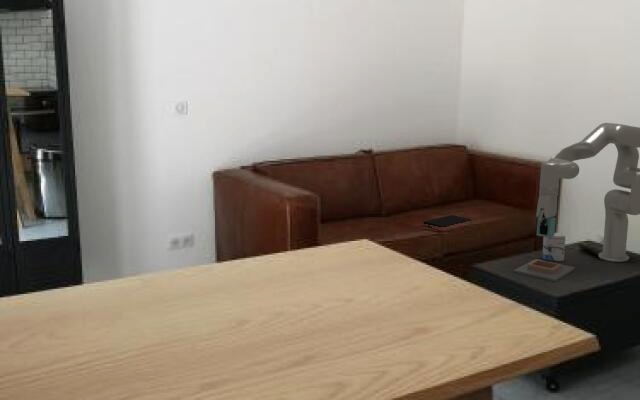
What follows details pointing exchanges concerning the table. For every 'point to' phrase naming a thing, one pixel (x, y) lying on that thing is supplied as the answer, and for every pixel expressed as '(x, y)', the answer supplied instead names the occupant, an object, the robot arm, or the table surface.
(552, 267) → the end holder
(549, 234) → the block
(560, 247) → the ink box
